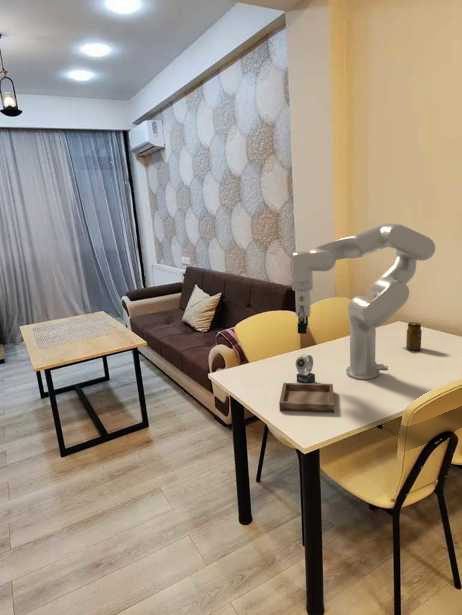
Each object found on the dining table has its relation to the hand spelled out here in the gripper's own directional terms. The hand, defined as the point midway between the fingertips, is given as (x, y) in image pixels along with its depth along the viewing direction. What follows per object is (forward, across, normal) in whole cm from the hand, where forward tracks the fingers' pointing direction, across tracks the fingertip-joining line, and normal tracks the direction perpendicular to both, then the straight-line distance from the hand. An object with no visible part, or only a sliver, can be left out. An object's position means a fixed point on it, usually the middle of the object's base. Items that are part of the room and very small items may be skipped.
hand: (303, 329), depth 155 cm
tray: (+21, -16, -2) cm, 27 cm away
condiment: (+21, +38, -47) cm, 64 cm away
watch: (+22, 0, -1) cm, 22 cm away
